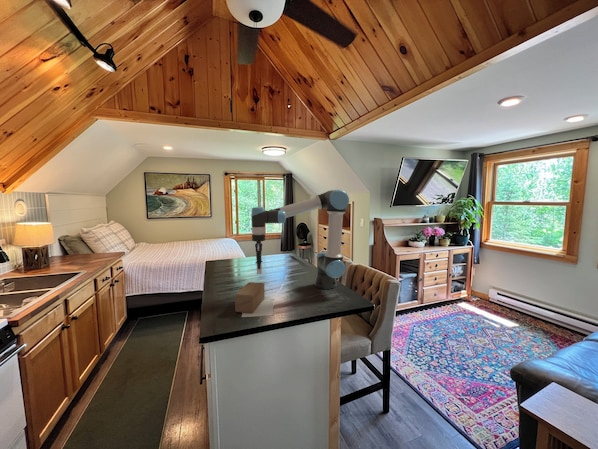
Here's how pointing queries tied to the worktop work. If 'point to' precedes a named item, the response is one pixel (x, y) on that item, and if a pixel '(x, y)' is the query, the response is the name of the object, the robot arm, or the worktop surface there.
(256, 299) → the wooden block
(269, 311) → the mat
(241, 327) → the worktop surface
